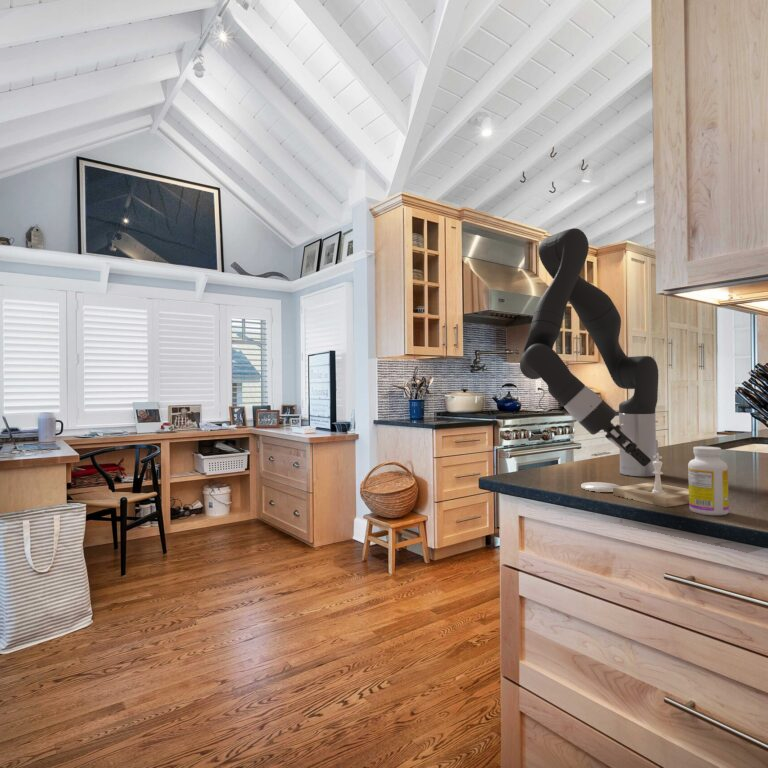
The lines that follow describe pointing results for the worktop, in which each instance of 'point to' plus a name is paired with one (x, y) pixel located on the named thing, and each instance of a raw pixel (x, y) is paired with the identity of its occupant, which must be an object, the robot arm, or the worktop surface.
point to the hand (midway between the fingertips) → (644, 460)
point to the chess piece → (657, 475)
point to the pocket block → (654, 494)
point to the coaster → (599, 486)
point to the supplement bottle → (708, 482)
